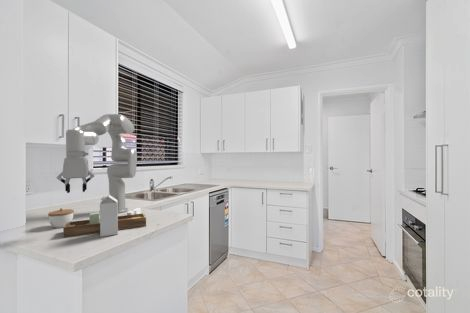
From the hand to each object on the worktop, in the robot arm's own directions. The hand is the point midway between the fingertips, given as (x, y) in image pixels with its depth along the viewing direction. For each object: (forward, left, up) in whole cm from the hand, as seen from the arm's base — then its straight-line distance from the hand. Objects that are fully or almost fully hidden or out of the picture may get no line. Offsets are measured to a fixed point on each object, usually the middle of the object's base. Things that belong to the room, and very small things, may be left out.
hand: (76, 191), depth 111 cm
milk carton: (+11, +15, -20) cm, 27 cm away
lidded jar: (-15, -9, -20) cm, 26 cm away
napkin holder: (-12, +26, -20) cm, 35 cm away
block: (0, +8, -17) cm, 18 cm away
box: (+2, +14, -20) cm, 24 cm away
